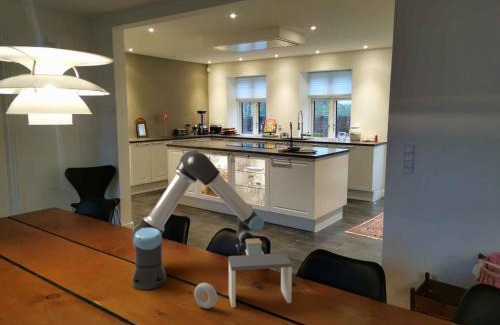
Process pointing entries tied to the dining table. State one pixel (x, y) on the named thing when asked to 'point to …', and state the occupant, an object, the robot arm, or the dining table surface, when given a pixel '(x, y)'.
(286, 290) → the stand
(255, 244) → the pale teal block
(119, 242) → the dining table surface
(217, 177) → the robot arm
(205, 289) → the donut
